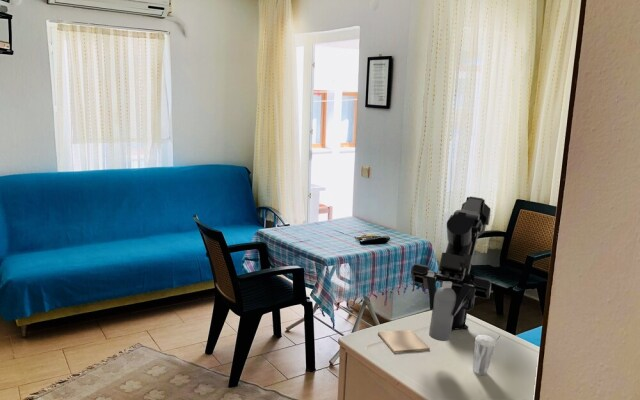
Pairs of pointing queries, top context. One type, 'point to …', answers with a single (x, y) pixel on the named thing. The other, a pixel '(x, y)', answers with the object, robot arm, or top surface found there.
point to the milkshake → (483, 353)
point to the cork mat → (403, 341)
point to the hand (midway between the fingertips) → (442, 312)
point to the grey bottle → (442, 312)
